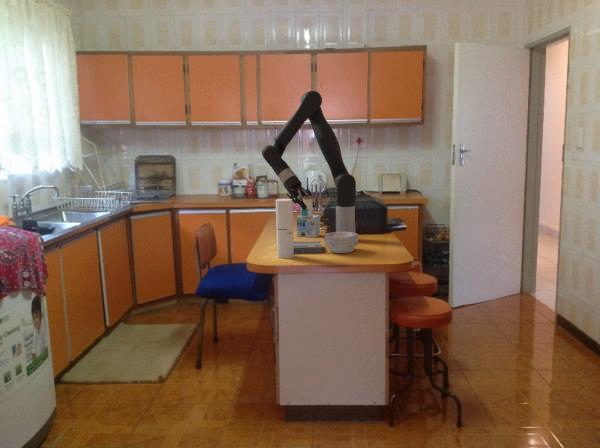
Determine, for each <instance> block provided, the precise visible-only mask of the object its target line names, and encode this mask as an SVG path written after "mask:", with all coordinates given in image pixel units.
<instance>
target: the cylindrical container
mask: <svg viewBox="0 0 600 448" xmlns="http://www.w3.org/2000/svg"><path fill="white" fill-rule="evenodd" d="M293 214H294V213H293V201H292V199H290V198H278V199H275V218H276V220H275V223H276V225H275V226H276V250H277V251H276V252H277V253H276V254H277V255H276V256H277V258H278V259H291V258H294V256H295V255H294V254H295V253H294V251H293V242H294V223H293V222H294V216H293Z"/></svg>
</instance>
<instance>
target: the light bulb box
mask: <svg viewBox="0 0 600 448" xmlns="http://www.w3.org/2000/svg"><path fill="white" fill-rule="evenodd" d="M320 216H321V215H320V214H313V219H301V214H299V215H297V216H296V237H302V238H305V237H306V238H318V237H319V236H320V235H321V218H320Z"/></svg>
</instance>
